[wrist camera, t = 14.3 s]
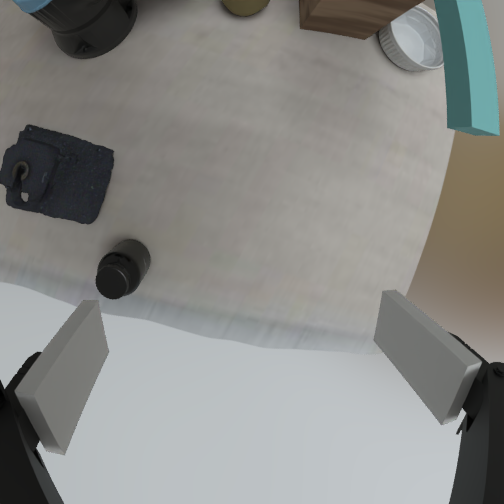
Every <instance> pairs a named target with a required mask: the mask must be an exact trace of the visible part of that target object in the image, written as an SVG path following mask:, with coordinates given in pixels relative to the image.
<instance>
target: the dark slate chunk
mask: <svg viewBox="0 0 504 504" xmlns="http://www.w3.org/2000/svg"><path fill="white" fill-rule="evenodd" d="M113 152H114V151H113V150H111V149H108V148H106V147H104V146H99V145H94V144H92V143H91V142H88V141H85V140H81V139H79V138H76V137H74V136H70V135H66V134H62V133H59V132H56V131H51V130H48V129H43V128H39V127H37V126H33V125H26V127H25V130H24V131H20V133H19V138H18V142H17V144H16V145H12V146H11V147H10V148H8V149H6V152H5V154H4V157H3V164H2V168H1V171H0V184H3V185H4V186H5V188H7V190H6V191H7V194H6V202H7V204H8V205H9V206H11V207H13V208H16V209H22V210H25V211H31V212H36V213H43V214H44V215H45V216H46V215H47V216H50V217H53V218H61V219H67V220H73V221H76V222H79V223H81V224H84V223H86V224H91V223H92V222H94V220H95V219H96V218H97V216H98V213H99V209H100V207H101V204H102V202H103V200H104V197H105V190H106V188H107V186H108V184H109V181H110V175H111V170H112V168H113V162H114V159H113V155H112V154H113ZM21 192H23V193H28V195H29V197H28V201H27V202H24V201H23V199H22V198H21Z"/></svg>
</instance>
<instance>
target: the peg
mask: <svg viewBox="0 0 504 504" xmlns="http://www.w3.org/2000/svg"><path fill="white" fill-rule="evenodd" d="M434 2H435V8H436V13H437V18H438V24H439V30H440V37H441V44H442V52H443V61H444V71H445V83H446V99H447V128H450V129H454V130H458V131H461V132H465V133H469V134H472V135H486V136H499V111H498V97H497V85H496V75H495V67H494V62H493V61H494V60H493V54H492V47H491V42H490V36H489V31H488V27H487V22H486V17H485V13H484V9H483V5H482V1H481V0H434Z"/></svg>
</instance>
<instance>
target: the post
mask: <svg viewBox="0 0 504 504" xmlns="http://www.w3.org/2000/svg"><path fill="white" fill-rule="evenodd" d="M423 1H425V0H299V11H300V29H305V30H313V31H320V32H326V33H332V34H338V35H343V36H348V37H353V38H358V39H363V40H365V39H367V38H368V37H370V36H371V35H373V34H374V33H375V32H377V31H378V30H380V29H381V28H383V27H384V26H386V25H387V24H389V23H390V22H392V21H393V20H395V19H396V18H398V17H399V16H401V15H402V14H404V13H405V12H407V11H409V10H410V9H412V8H413V7H415V6H417V5H418V4H420V3H421V2H423Z"/></svg>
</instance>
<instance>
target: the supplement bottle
mask: <svg viewBox="0 0 504 504" xmlns="http://www.w3.org/2000/svg"><path fill="white" fill-rule="evenodd" d="M149 266H150V255H149V252H148V250H147V249H146V247H145V246H144V245H143V244H141V243H140V242H138V241H135V240H125V241H122V242H121V243H119V244H118V245H117V246H115V247H114V248H113V249H112V250H111V251H109V252H108V253H107V254H106V255H105V256H104V257H103V258H102V259H101V261H100V262H99V265H98V269H97V276H96V287H97V289H98V290H99V292H100V293H101V294H102V295H103V296H104V297H106V298H109V299H119V298H120V297H122V296H127V295H129V294H131V293H133V292H134V291H135V290H136V289H137V287H138V286H139V284H140V283H141V281H142V279H143V278H144V276H145V274H146V273H147V271H148V269H149Z"/></svg>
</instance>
